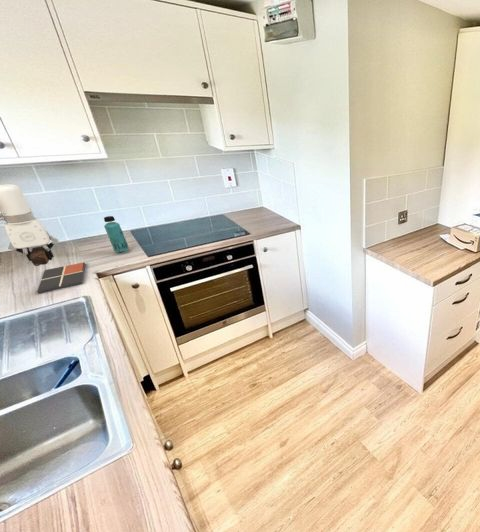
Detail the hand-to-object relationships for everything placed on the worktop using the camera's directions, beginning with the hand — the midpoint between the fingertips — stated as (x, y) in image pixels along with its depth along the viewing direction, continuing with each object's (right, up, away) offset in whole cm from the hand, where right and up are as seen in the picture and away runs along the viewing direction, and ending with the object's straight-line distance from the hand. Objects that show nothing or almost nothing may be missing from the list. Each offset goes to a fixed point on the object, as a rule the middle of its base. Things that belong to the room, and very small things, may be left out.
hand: (42, 260), depth 131 cm
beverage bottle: (-4, +5, +43) cm, 43 cm away
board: (-9, -8, +17) cm, 21 cm away
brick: (0, -1, 0) cm, 1 cm away
